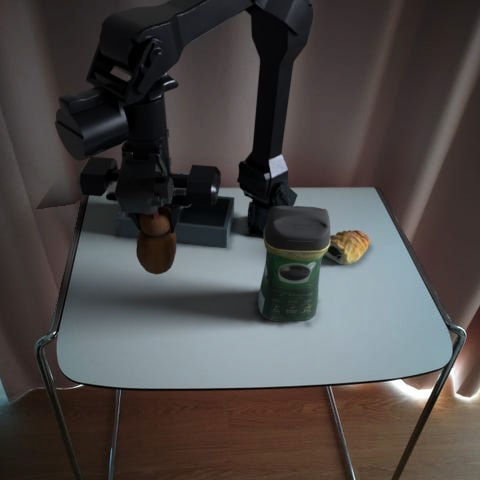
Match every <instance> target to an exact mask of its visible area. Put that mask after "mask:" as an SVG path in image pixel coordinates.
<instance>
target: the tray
mask: <svg viewBox="0 0 480 480" xmlns="http://www.w3.org/2000/svg"><path fill="white" fill-rule="evenodd" d="M163 205H165V206H166V207H167V208H168V209H169V211H170V213H171V207H170V206H169V204H163ZM234 217H235V197H233V196H225V195H224V196H222V195H218V197H217V201H216V204H214V205H212V206H209V205H197V204H192V205H191V206H190V207H183V208H182V210H181V212H180V214H179V218H178V221H177V225H176V228H175V233H176V243H179V244H189V245H198V246H207V247H216V248H217V247H218V248H227V247H228V244H229V239H230V235H231V230H232V225H233V221H234ZM115 221H116V227H117V231H118V237H121V238H122V237H123V238H131V239H137V238H138V235H139V232H140V230H138V229H137V227H136V226H135V224H134V222H133V221H132V219H131V218H130V216H129V215H128V213H125V212H123V211H122V210H121V209H120V210H119V212H118V214H117V216H116V218H115Z"/></svg>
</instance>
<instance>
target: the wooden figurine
mask: <svg viewBox="0 0 480 480" xmlns="http://www.w3.org/2000/svg"><path fill="white" fill-rule="evenodd" d="M139 222H140V227H141V229H142V230H141V231H140V232H139V235H138V238H136V247H135V248H136V249H135V253H136V258H137V260H138V262H139V264H140V266H141V267H142V268H143V269H144V270H145V272H147V273H149V274H152V275H163V274H165V273H167V272H168V271H169V270H170V269H171V268H172V267H173V264H174V262H175V258H176V255H177V254H176V253H177V247H178V246H177V243H178V242H176V233H175V231H174V233H171V229H170V211H169V209H168V208H167V207H166V206H165V205H163V207H158V209H157V211H156V212H155V213H154V214H151V215H147V214H144V213H140V217H139Z"/></svg>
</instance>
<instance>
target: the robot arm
mask: <svg viewBox="0 0 480 480" xmlns="http://www.w3.org/2000/svg"><path fill="white" fill-rule="evenodd" d="M242 12H245V13H246V14H247V15H248V16H249V17H250V29H251V39H252V42H253V44H254V47H255V50H256V52H257V55H258V58H259V69H258V79H257V80H258V81H257V89H256V90H257V92H256V103H255V115H254V124H253V125H254V126H253V137H252V149H251V152H250V153H249V154H248V155H247V156H246V158H245V159H244V160H241V161H240V162H239V163H238V176H237V178H236V182H237V183H238V184H239V185H238V186H239V189H240V190H242V192H243V195H244V196H245V198H246V197H247V198H248V199H251V201H249V203H248V208H247V220H246V221H247V222H246V227H247V228H248V233H247V234H248V236H250V237H259V238H260V237H261V238H264V228H265V226H266V222H267V217H268V214H269V211H270V208H271V207H275V206H295V203H296V202H297V198H298V193H297V192H295V191H294V190H293V189H292V188H291V187H290V186H289V168H288V166H287V163H286V161H285V158H284V155H283V147H284V145H283V144H284V139H285V130H286V122H287V116H288V109H289V99H290V91H291V85H292V76H293V71H294V64H295V61H296V60H297V58H298V57H299V55H300V54H301V53H302V51H303V50H304V49H305V48H306V46H307V44H308V41H309V36H310V33H311V28H312V25H313V21H314V5H313V3H312V2H311V0H168V1H166V2H165V3H162V4H161V3H160V4H158V5H150V6H135V7H132V8H128V9H124V10H120V11H117V12H116V11H115V12H114V13H111V14H110V15H108V16H107V17H106V18H105V19H104V20H103V21H102V23H101V30H100V33H99V39H98V43H97V46H96V49H95V51H94V55H93V58H92V61H91V64H90V66H89V69H88V71H87V75H86V77H85V81H86V83H87V84H89V85H91V86H92V87H91V88H88V89H86V90H83V91H80V92H76V93H68V94H64V95H62V96H59V98H58V103H59V108H58V109H57V110H56V112H55V121H54V126H55V130H56V132H57V135H58V137H59V140H60V142H61V143H62V146H63V147H64V148H65V150H66V152H68V154H69V155H70V156H71V157H72V158H73V159H74V160H76V161H79V162H82V161H84V160H86V159H87V160H86V161H85V163H84V165H83V166H82V168H81V170H80V171H79V173H78V175H77V186H78V190H79V193H80V194H81V195H82V196H89V197H102V196H103V195H105V193H106V195H105V199H106V200H107V201H109V202H114V203H117V204H118V206H119V208H120V210H122V211H123V212H125V213H128V215H129V216H130V218H131V219H132V221H133V222H134V224H135V226H136V227H137V229H138V230H140V231H141V230H142V229H141V227H140V222H139V217H140V213H144V214H147V215H151V214H154V213H155V212H156V211H157V209H158V207H163V204H169V206H170V207H171V213H170V229H171V233H174V231H175V228H176V225H177V221H178V218H179V214H180V212H181V210H182V208H183V207H190V206H191V205H192V204H197V205H209V206H212V205H214V204H216V201H217V197H218V196H219V192H220V188H221V183H222V182H221V181H222V174H221V170H220V169H219V167H217V166H214V165H201V164H192V165H191V167H190V169H189V170H190V171H187V170H186V171H185V170H180V171H177V172H172V168H171V167H172V157H170V156H171V155H170V143H169V138H170V129H169V128H168V121H167V120H168V119H167V110H166V99H165V93H167V92H169V91H172V90H175V89H177V88H178V87H179V85H180V84H179V81H178V80H176V79H174V78H173V77H172V76H171V75H170V74H169V73H168V72H169V71H170V70H171V69H172V68H173V67H174V66H176V65H177V64H178V62H179V61H180V59H181V56H182V54H183V51H184V49H185V48H186V47H187V46H189V45H190V44H191V43H193V42H195V41H196V40H198V39H199V38H201V37H202V36H205V35H206V34H207V33H209V32H211V31H213V30H214V29H216V28H218V27H219V26H221V25H223V24H224V23H226V22H228V21H229V20H231V19H233V18H234V17H236V16H238V15H239V14H241V13H242ZM113 69H115V70H118V71H120V72H122V73H124V74H126V75H127V76H130V79H127V80H125V79H123V78H122V77H119V76H117V75H115V74H113V73H111V72H112V71H113ZM120 145H122V146H121V162H120V168H119V165H118V164H119V163H118V161H117V160H116V159H115V158H114V157H100V156H96V155H99V154H101V153H104V152H106V151H109V150H111V149H113V148H115V147H118V146H120Z"/></svg>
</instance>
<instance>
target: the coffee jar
mask: <svg viewBox="0 0 480 480" xmlns="http://www.w3.org/2000/svg"><path fill="white" fill-rule="evenodd" d="M330 236H331V219H330V214H329V211H328V210H327V209H326V208H321V207H316V206H306V205H305V206H303V205H293V206H275V207H271V208H270V211H269V214H268V217H267V222H266V226H265V228H264V237H263V244H264V247H265V250H266V253H265V261H264V268H263V273H262V277H261V281H260V285H259V287H260V288H259V292H258V303H257V304H258V310H259V313H260V314H261V315H262V316H263V317H264V318H265V319H268V320H270V321H276V322H282V323H283V322H284V323H286V322H287V323H299V322H300V323H303V322H307V321H310V320H311V319H313V318H314V317H315V316H316V314H317V309H318V303H319V289H320V288H319V287H320V274H321V273H320V272H321V267H322V266H321V264H322V260H323V257H324V256H325V255H324V254H325V253H326V251H327V250H328V248H329V245H330Z"/></svg>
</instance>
